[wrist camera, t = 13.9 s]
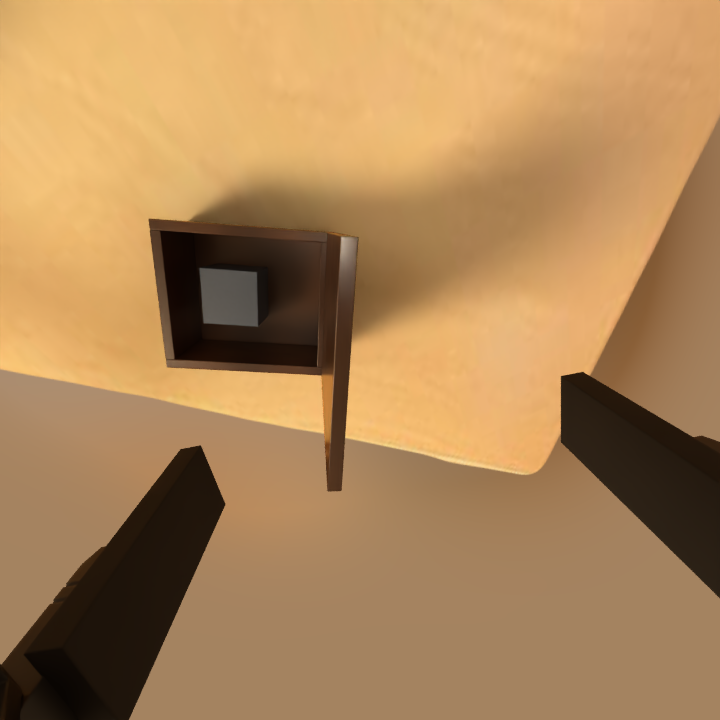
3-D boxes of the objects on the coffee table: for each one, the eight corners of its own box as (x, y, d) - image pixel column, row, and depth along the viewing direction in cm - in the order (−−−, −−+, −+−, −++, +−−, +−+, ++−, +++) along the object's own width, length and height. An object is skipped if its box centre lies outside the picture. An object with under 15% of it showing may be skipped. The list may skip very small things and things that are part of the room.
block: (220, 312, 40) (203, 323, 36) (217, 263, 38) (199, 267, 34) (268, 315, 41) (258, 326, 36) (267, 267, 39) (257, 271, 34)
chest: (197, 343, 42) (166, 367, 35) (187, 221, 38) (148, 218, 30) (329, 351, 43) (325, 375, 36) (334, 232, 39) (331, 232, 31)
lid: (327, 491, 20) (341, 491, 20) (340, 235, 15) (358, 236, 15) (321, 377, 35) (329, 377, 36) (326, 232, 31) (335, 232, 31)
